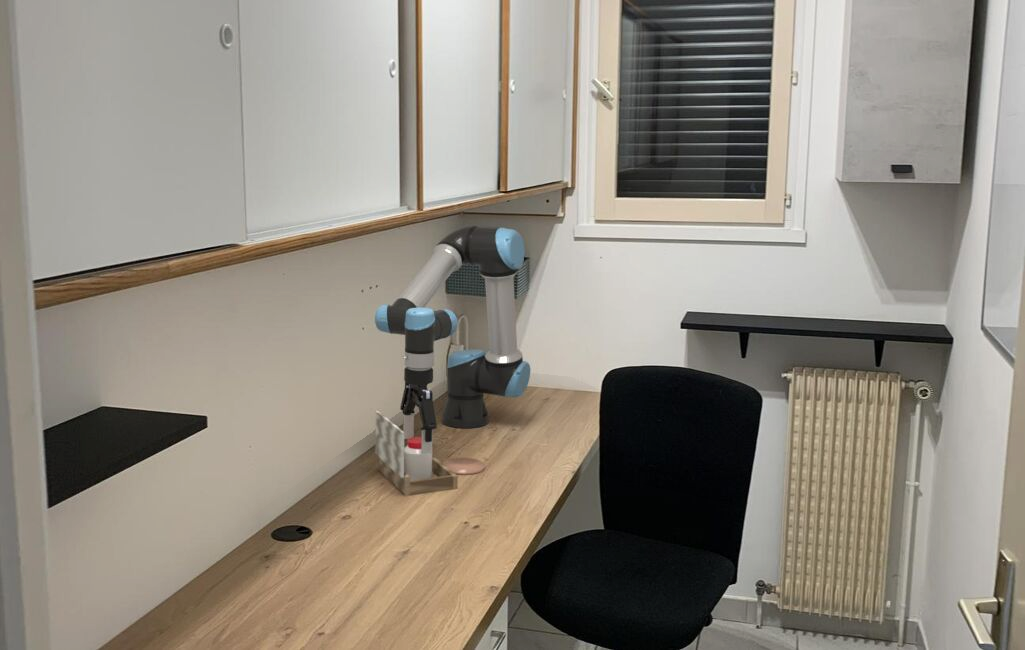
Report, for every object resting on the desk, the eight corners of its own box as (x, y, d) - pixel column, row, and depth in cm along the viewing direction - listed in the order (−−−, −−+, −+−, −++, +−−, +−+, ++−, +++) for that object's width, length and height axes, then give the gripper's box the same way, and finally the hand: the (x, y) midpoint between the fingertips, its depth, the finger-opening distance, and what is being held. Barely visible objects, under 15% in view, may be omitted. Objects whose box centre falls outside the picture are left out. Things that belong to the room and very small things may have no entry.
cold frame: (375, 471, 266) (375, 411, 263) (428, 464, 273) (429, 405, 270) (401, 496, 248) (401, 432, 245) (457, 488, 255) (458, 426, 252)
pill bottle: (398, 476, 262) (399, 437, 260) (425, 472, 266) (426, 434, 264) (409, 486, 256) (409, 446, 253) (436, 482, 259) (437, 442, 257)
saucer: (434, 463, 273) (434, 460, 273) (473, 458, 279) (474, 455, 279) (451, 477, 263) (451, 474, 263) (491, 471, 268) (491, 469, 268)
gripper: (389, 358, 264) (388, 433, 268) (422, 379, 242) (421, 461, 246) (415, 356, 267) (413, 431, 271) (450, 377, 245) (448, 457, 249)
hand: (417, 445), depth 259 cm, fingers open, 13 cm apart
